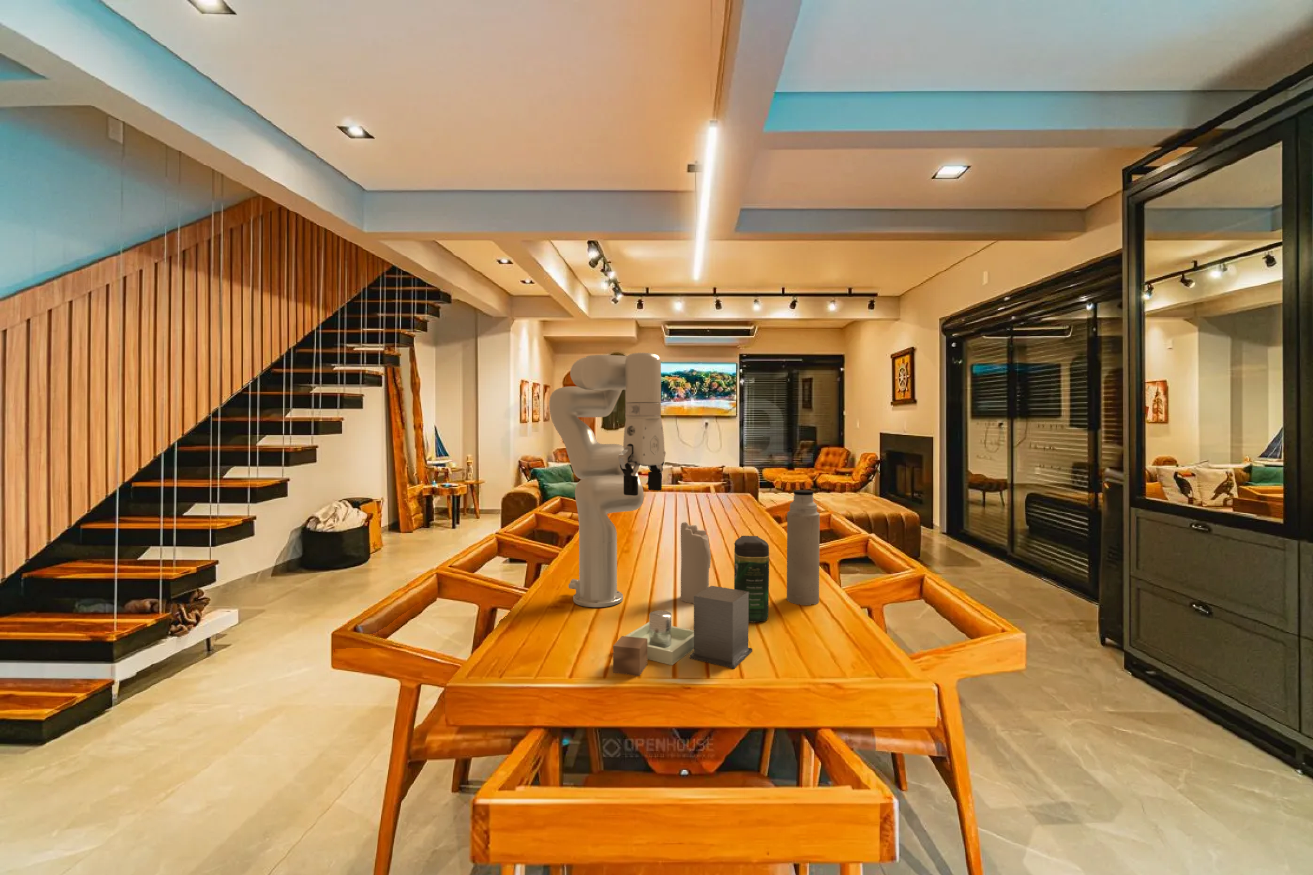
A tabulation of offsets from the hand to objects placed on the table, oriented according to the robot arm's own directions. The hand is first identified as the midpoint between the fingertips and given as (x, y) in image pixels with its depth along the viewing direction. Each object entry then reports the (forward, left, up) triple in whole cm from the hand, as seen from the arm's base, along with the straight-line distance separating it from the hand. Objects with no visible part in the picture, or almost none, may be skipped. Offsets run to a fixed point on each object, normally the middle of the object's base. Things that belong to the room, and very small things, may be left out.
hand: (643, 492), depth 123 cm
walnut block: (+7, -16, -30) cm, 35 cm away
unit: (+19, -2, -30) cm, 36 cm away
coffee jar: (+16, +22, -31) cm, 41 cm away
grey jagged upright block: (+2, +28, -31) cm, 41 cm away
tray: (+7, -5, -30) cm, 31 cm away
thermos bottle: (+23, +40, -31) cm, 55 cm away
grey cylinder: (+7, -5, -29) cm, 31 cm away
